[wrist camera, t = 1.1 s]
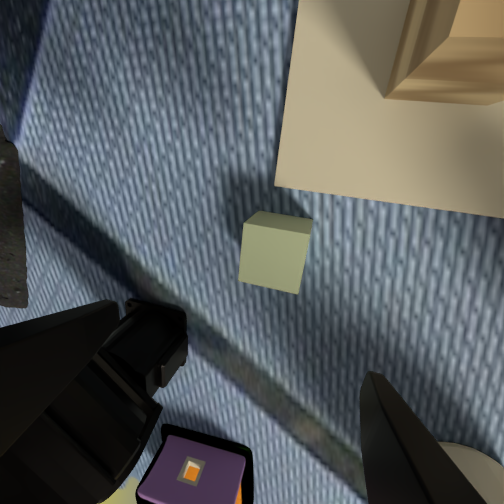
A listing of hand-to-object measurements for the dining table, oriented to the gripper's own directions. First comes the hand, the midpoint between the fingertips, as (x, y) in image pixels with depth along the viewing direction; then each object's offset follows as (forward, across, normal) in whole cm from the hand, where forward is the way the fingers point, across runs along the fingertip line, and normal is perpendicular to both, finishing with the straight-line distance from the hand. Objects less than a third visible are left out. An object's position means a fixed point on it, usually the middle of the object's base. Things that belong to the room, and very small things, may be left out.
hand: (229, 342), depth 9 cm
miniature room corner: (+12, +5, +32) cm, 34 cm away
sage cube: (+12, 0, 0) cm, 12 cm away
